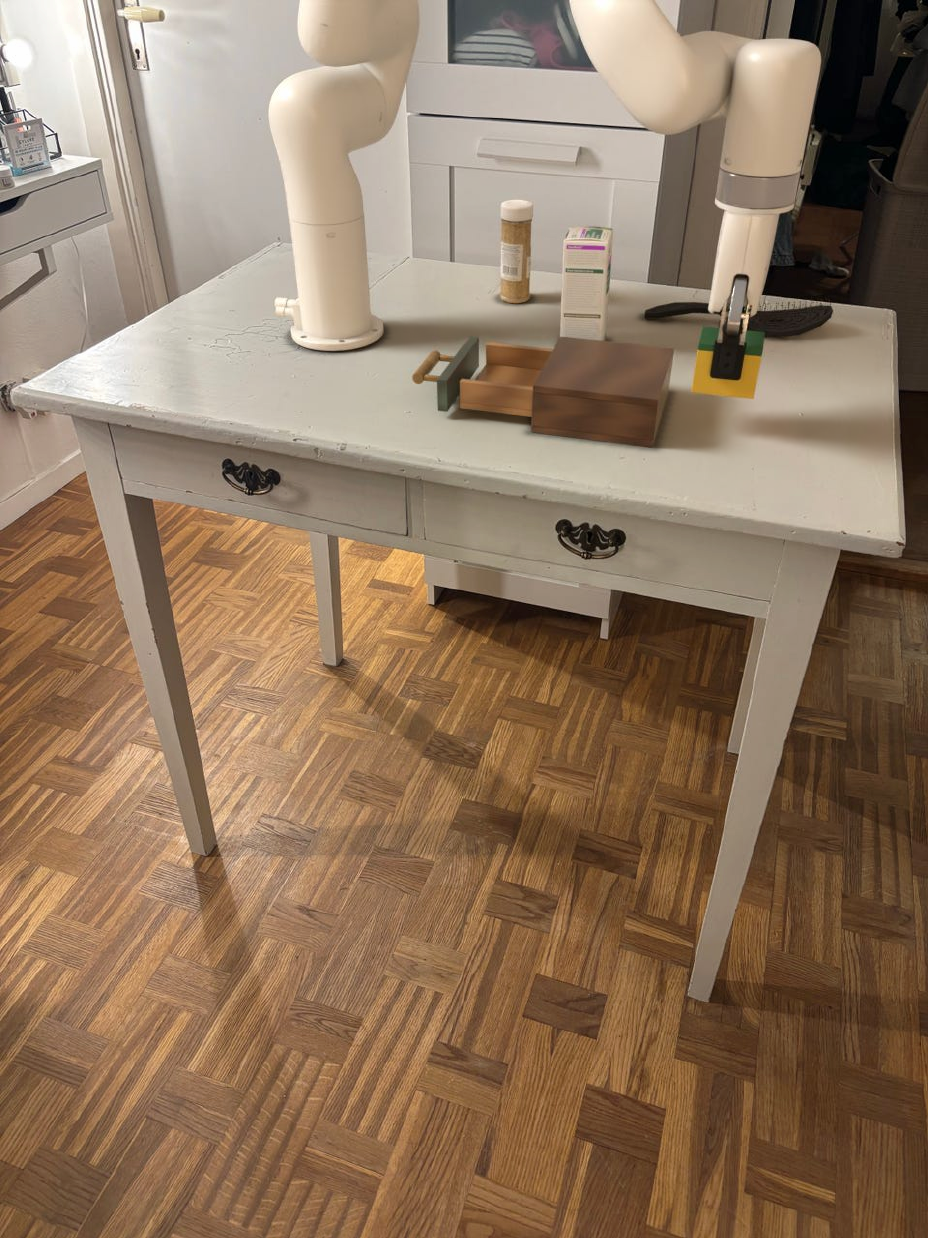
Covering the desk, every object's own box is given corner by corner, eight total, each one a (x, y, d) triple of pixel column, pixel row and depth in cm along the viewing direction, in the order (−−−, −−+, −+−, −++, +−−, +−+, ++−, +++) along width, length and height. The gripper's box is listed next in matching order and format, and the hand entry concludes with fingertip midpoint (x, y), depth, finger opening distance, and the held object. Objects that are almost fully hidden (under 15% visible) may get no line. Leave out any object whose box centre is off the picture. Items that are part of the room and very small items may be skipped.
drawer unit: (530, 432, 106) (532, 385, 102) (557, 380, 117) (560, 336, 113) (652, 447, 103) (658, 399, 99) (668, 392, 114) (674, 347, 110)
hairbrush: (648, 287, 135) (832, 291, 129) (646, 312, 137) (828, 317, 131) (642, 307, 128) (836, 313, 123) (641, 334, 131) (831, 340, 125)
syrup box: (602, 355, 123) (612, 240, 114) (557, 352, 124) (563, 237, 115) (606, 338, 127) (615, 226, 118) (562, 335, 128) (568, 224, 119)
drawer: (403, 406, 109) (402, 375, 107) (438, 361, 119) (438, 332, 117) (543, 423, 105) (545, 392, 103) (567, 376, 116) (569, 346, 113)
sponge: (691, 392, 103) (698, 342, 99) (695, 374, 106) (702, 325, 103) (753, 399, 101) (762, 349, 98) (755, 380, 105) (765, 331, 102)
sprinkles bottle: (536, 298, 140) (540, 202, 131) (515, 306, 137) (517, 209, 129) (513, 291, 142) (516, 196, 134) (492, 298, 140) (493, 202, 131)
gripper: (723, 166, 99) (699, 335, 110) (709, 209, 86) (683, 396, 97) (798, 170, 97) (765, 341, 108) (795, 214, 84) (758, 404, 95)
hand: (727, 365), depth 102 cm, fingers closed on sponge, 5 cm apart
